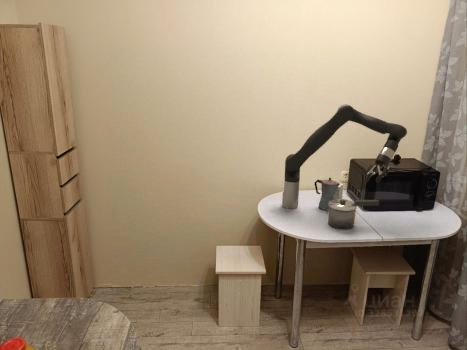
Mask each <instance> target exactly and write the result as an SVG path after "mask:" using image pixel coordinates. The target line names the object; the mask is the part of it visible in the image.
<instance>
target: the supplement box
mask: <svg viewBox="0 0 467 350" xmlns="http://www.w3.org/2000/svg"><path fill="white" fill-rule="evenodd" d="M339 183H340V182H339ZM343 191H344V184H343V183H340V185H339V186H338V188H337V189H336V191H335V194H334V196H333V199H343Z"/></svg>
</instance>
